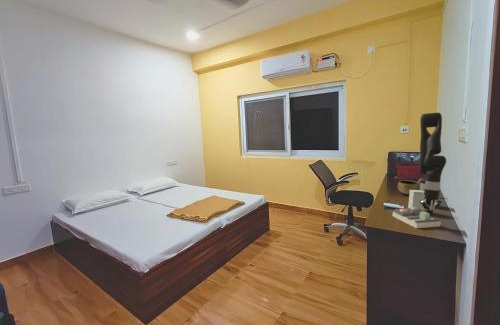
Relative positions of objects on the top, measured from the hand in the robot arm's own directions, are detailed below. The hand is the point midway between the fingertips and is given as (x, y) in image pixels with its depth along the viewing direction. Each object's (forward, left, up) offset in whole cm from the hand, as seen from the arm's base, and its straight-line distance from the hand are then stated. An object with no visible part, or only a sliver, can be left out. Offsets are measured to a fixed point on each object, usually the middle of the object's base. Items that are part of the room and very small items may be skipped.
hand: (429, 215), depth 148 cm
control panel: (-6, -4, -6) cm, 9 cm away
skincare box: (-22, +11, -6) cm, 26 cm away
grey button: (-11, 0, -1) cm, 11 cm away
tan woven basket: (-61, +38, -6) cm, 72 cm away
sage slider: (0, -3, -2) cm, 4 cm away
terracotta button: (-11, -8, -2) cm, 14 cm away
